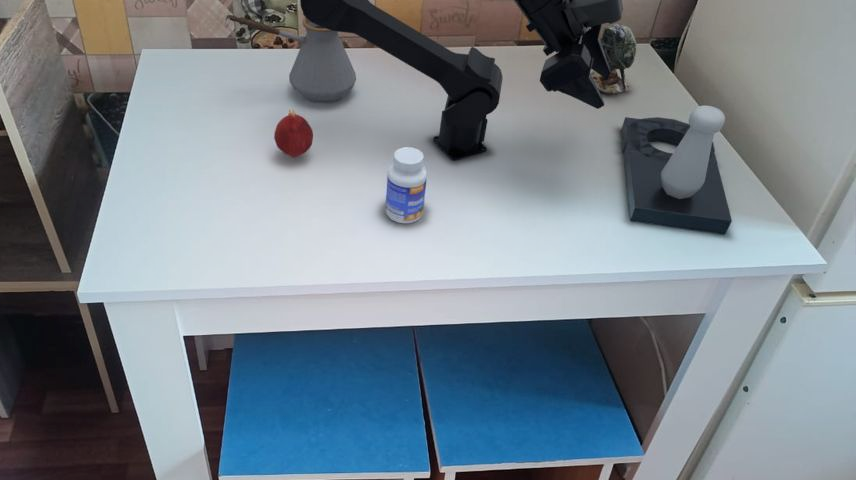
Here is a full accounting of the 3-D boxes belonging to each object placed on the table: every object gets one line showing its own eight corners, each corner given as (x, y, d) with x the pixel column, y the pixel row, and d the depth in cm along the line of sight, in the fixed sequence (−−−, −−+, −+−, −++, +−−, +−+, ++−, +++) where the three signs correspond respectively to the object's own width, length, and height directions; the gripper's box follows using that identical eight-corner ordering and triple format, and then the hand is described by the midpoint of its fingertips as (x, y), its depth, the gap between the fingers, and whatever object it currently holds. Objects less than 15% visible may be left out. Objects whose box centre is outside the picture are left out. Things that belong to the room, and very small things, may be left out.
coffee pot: (348, 73, 132) (349, -10, 122) (362, 106, 124) (365, 21, 114) (229, 83, 128) (220, -1, 118) (236, 118, 121) (226, 31, 110)
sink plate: (726, 234, 102) (733, 221, 101) (628, 220, 104) (634, 207, 102) (702, 136, 120) (708, 123, 118) (619, 125, 122) (623, 112, 120)
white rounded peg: (691, 208, 102) (726, 128, 93) (651, 192, 105) (681, 113, 95) (703, 187, 106) (738, 108, 97) (664, 173, 108) (694, 95, 99)
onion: (319, 151, 114) (319, 106, 109) (302, 171, 111) (301, 125, 105) (287, 142, 116) (284, 97, 110) (269, 161, 112) (265, 115, 107)
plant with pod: (592, 102, 127) (624, -12, 113) (572, 70, 135) (600, -41, 121) (637, 101, 127) (675, -13, 113) (614, 69, 135) (647, -41, 121)
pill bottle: (411, 229, 101) (417, 172, 95) (377, 215, 103) (381, 158, 97) (429, 209, 105) (436, 152, 98) (396, 195, 107) (401, 139, 100)
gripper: (588, -7, 86) (655, 94, 91) (603, -61, 99) (662, 31, 104) (510, 44, 93) (577, 135, 99) (534, -13, 106) (592, 71, 111)
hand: (604, 90), depth 103 cm, fingers open, 9 cm apart
